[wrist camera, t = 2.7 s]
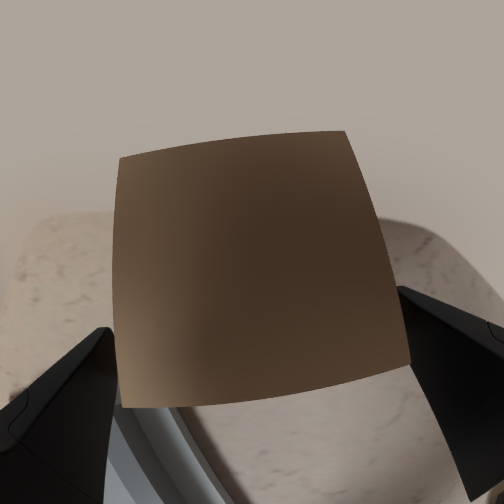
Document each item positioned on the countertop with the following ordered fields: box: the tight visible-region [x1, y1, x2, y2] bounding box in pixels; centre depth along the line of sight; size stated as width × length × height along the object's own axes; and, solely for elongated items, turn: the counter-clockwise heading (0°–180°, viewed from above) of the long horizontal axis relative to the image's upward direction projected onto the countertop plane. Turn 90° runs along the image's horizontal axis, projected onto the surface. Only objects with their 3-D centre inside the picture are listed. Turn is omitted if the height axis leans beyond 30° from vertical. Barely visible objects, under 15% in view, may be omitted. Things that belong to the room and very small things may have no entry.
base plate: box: [103, 379, 235, 504], centre depth 11 cm, size 14×14×4 cm
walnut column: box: [112, 131, 411, 408], centre depth 11 cm, size 4×4×13 cm
